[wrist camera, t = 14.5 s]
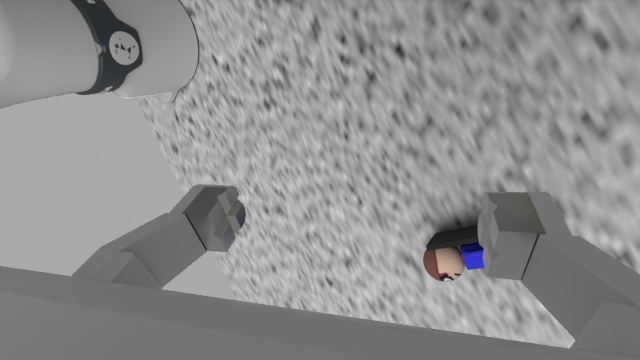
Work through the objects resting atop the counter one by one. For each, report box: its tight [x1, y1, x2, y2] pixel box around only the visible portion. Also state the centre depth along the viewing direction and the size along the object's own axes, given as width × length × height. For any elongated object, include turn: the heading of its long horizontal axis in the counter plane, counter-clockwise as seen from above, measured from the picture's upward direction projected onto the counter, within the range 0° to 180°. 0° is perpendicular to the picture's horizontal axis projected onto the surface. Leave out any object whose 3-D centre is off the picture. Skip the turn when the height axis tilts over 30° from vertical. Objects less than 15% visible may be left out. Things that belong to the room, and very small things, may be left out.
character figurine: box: [423, 225, 485, 282], centre depth 37 cm, size 8×7×15 cm
